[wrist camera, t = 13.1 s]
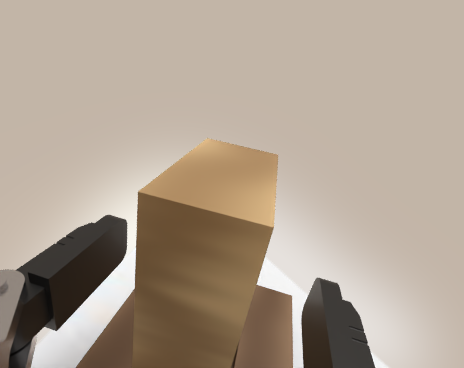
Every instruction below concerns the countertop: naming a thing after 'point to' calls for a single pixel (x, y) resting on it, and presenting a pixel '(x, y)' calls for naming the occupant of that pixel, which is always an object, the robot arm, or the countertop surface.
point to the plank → (201, 254)
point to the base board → (249, 347)
